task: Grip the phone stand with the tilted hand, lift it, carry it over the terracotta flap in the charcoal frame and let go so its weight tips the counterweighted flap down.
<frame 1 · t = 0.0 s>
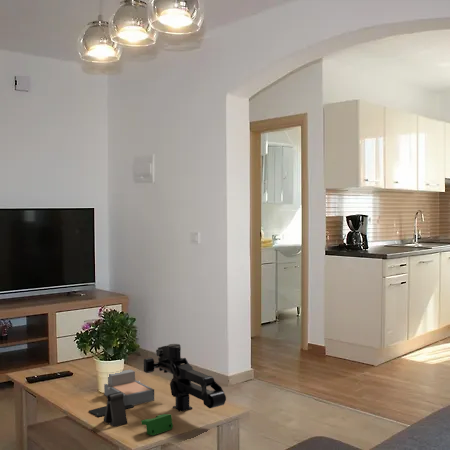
hand: (153, 359, 270), 17 cm above the table, tool horizontal, fingers open, 9 cm apart
flap frame: (128, 397, 265), on the table
flap: (128, 386, 265), point 5 cm above the table, hinge at 0.0°
cell phone: (111, 410, 249), on the table
phone stand: (115, 422, 234), on the table
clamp: (156, 431, 225), on the table
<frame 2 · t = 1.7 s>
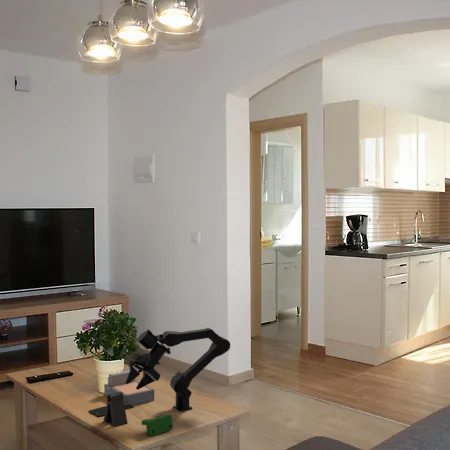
hand: (131, 386, 239), 14 cm above the table, tool tilted 45°, fingers open, 9 cm apart
nothing on the table moved.
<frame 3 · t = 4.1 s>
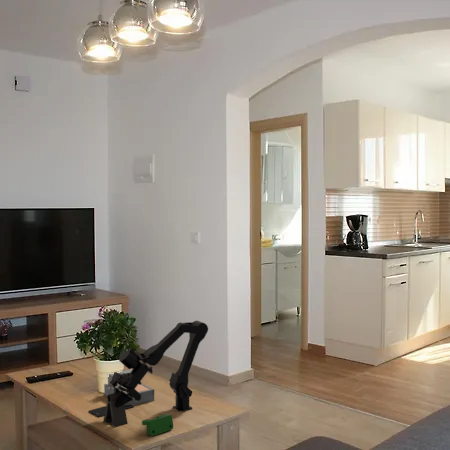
hand: (112, 407, 233), 7 cm above the table, tool tilted 45°, fingers closed on phone stand, 3 cm apart
phone stand: (115, 422, 234), on the table, touching gripper
everything else where it was.
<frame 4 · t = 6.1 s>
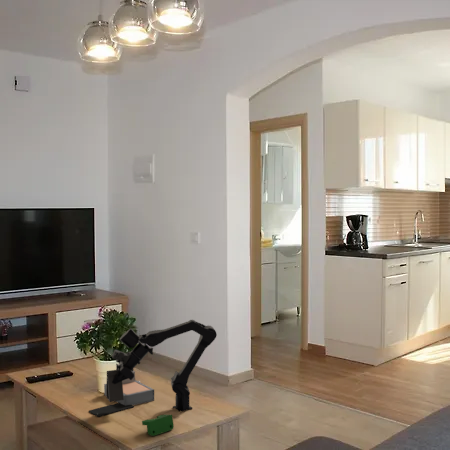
hand: (111, 383, 244), 13 cm above the table, tool tilted 45°, fingers closed on phone stand, 3 cm apart
phone stand: (114, 398, 244), point 6 cm above the table, touching gripper
everything else where it was.
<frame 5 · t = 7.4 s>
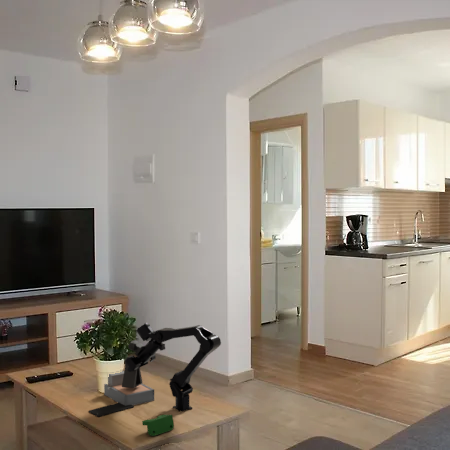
hand: (129, 370, 263), 13 cm above the table, tool tilted 45°, fingers closed on phone stand, 3 cm apart
phone stand: (132, 385, 262), point 6 cm above the table, touching gripper
everything else where it was.
when the fingers open (13 cm above the table, at t = 8.0 s): phone stand drops 4 cm, resting on flap.
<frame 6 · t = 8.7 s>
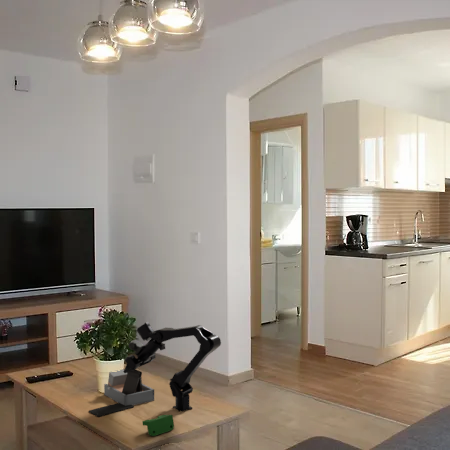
hand: (129, 369, 263), 14 cm above the table, tool tilted 45°, fingers open, 9 cm apart
flap: (128, 388, 265), point 4 cm above the table, hinge at -15.4°, touching phone stand
phone stand: (131, 393, 262), point 3 cm above the table, touching flap
everything else where it was.
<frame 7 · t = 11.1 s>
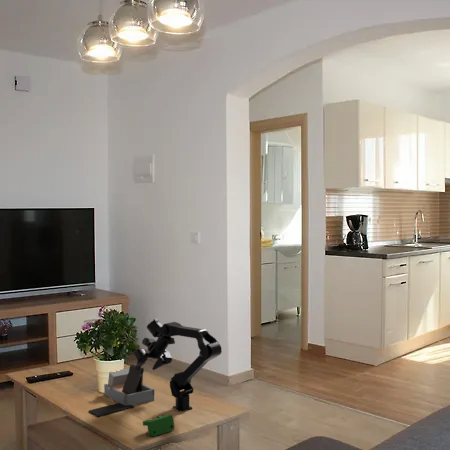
hand: (144, 369, 263), 14 cm above the table, tool tilted 35°, fingers open, 9 cm apart
flap: (128, 388, 265), point 4 cm above the table, hinge at -16.0°, touching phone stand
phone stand: (131, 391, 262), point 3 cm above the table, touching flap, gripper
everything else where it was.
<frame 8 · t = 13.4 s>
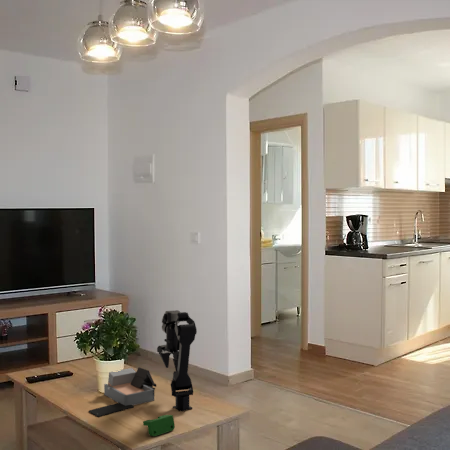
hand: (172, 369, 268), 12 cm above the table, tool pointing down, fingers open, 9 cm apart
flap: (128, 388, 265), point 4 cm above the table, hinge at -14.0°, touching phone stand
phone stand: (139, 377, 269), point 8 cm above the table, touching flap, flap frame
at the end: flap at -14° (first picture: +0°); phone stand inside the target area (6.3 cm from its centre), point 8.3 cm above the table; phone stand touching flap, flap frame, table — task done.
